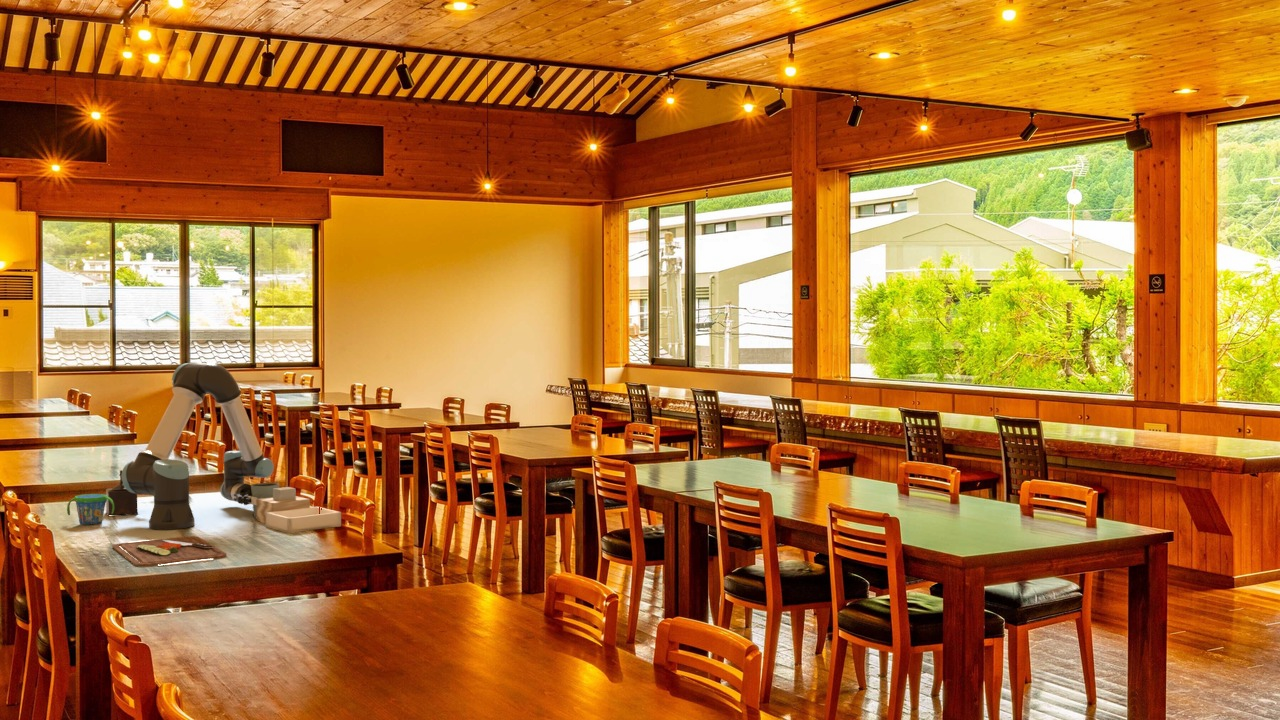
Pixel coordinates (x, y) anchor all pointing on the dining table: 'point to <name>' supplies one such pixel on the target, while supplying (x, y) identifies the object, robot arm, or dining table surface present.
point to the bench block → (278, 506)
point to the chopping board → (169, 551)
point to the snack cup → (90, 508)
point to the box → (303, 519)
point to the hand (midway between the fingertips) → (270, 500)
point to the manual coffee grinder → (121, 500)
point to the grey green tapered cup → (262, 492)
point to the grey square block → (284, 493)
